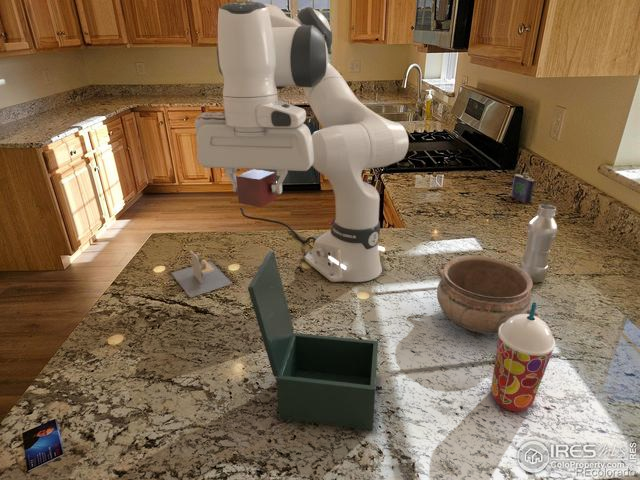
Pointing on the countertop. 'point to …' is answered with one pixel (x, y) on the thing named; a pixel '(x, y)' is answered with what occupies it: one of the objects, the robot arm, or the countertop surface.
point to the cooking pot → (483, 292)
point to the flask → (522, 188)
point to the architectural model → (200, 277)
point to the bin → (328, 381)
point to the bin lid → (271, 311)
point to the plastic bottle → (539, 243)
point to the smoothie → (521, 360)
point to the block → (256, 187)
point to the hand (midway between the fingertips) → (258, 192)
